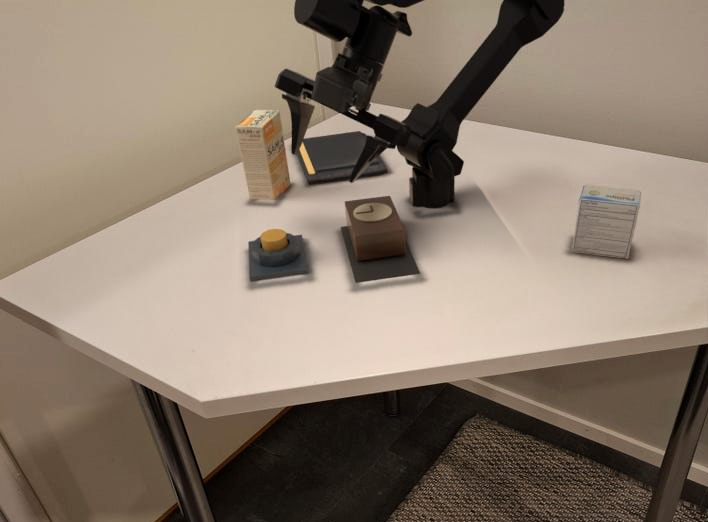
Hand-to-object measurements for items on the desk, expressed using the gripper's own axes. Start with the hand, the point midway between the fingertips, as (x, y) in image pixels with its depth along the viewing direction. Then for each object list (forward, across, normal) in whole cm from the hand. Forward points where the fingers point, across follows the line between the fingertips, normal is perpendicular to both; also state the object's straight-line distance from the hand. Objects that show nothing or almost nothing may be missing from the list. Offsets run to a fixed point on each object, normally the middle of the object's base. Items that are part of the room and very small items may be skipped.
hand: (322, 168), depth 89 cm
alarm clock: (+6, +10, +3) cm, 13 cm away
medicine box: (-6, +40, +8) cm, 42 cm away
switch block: (+15, 0, -3) cm, 15 cm away
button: (+12, -1, -4) cm, 13 cm away
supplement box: (+10, -12, +17) cm, 23 cm away
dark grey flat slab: (+8, +12, +2) cm, 14 cm away
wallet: (+2, -8, +32) cm, 33 cm away
